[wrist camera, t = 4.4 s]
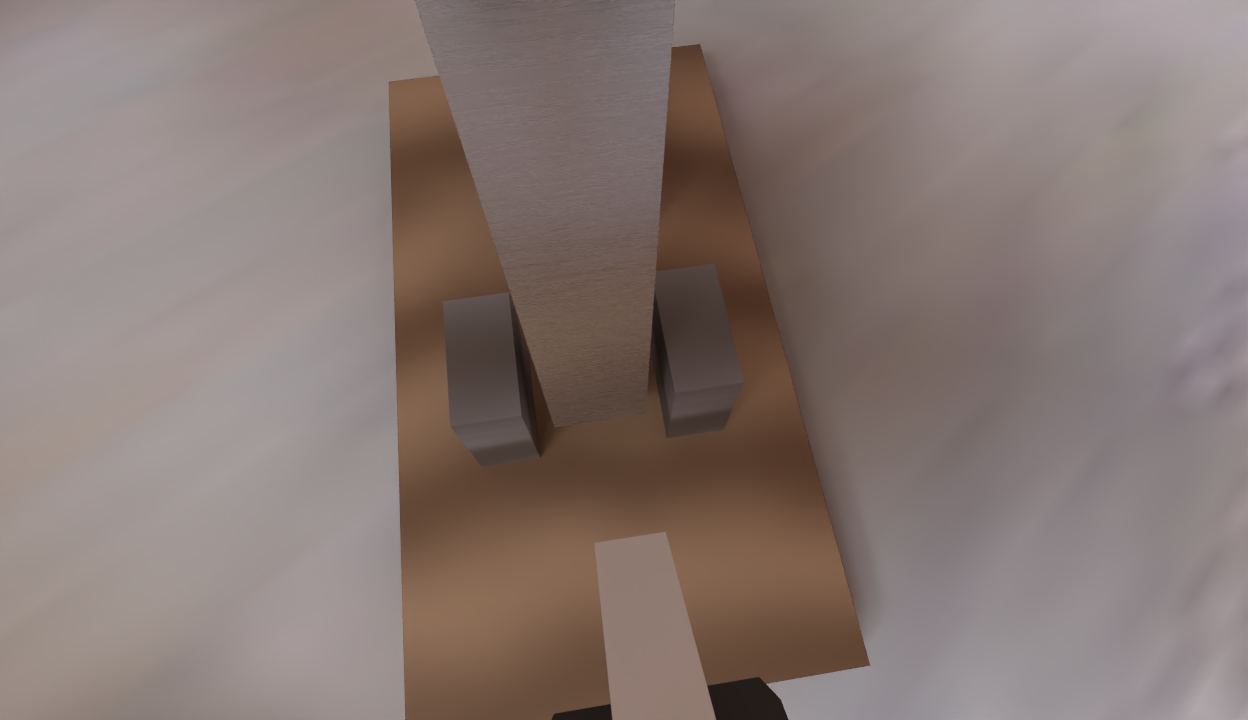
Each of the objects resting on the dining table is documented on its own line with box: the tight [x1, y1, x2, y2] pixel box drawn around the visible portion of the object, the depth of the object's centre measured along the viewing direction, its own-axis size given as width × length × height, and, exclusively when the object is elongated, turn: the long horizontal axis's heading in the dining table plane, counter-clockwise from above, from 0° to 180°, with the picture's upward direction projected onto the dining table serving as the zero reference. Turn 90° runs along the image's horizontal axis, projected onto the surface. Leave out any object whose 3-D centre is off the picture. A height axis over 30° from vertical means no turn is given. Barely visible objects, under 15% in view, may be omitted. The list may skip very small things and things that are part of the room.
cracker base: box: [389, 44, 870, 720], centre depth 23 cm, size 26×14×9 cm, turn 9°
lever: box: [415, 0, 675, 427], centre depth 14 cm, size 4×4×19 cm
